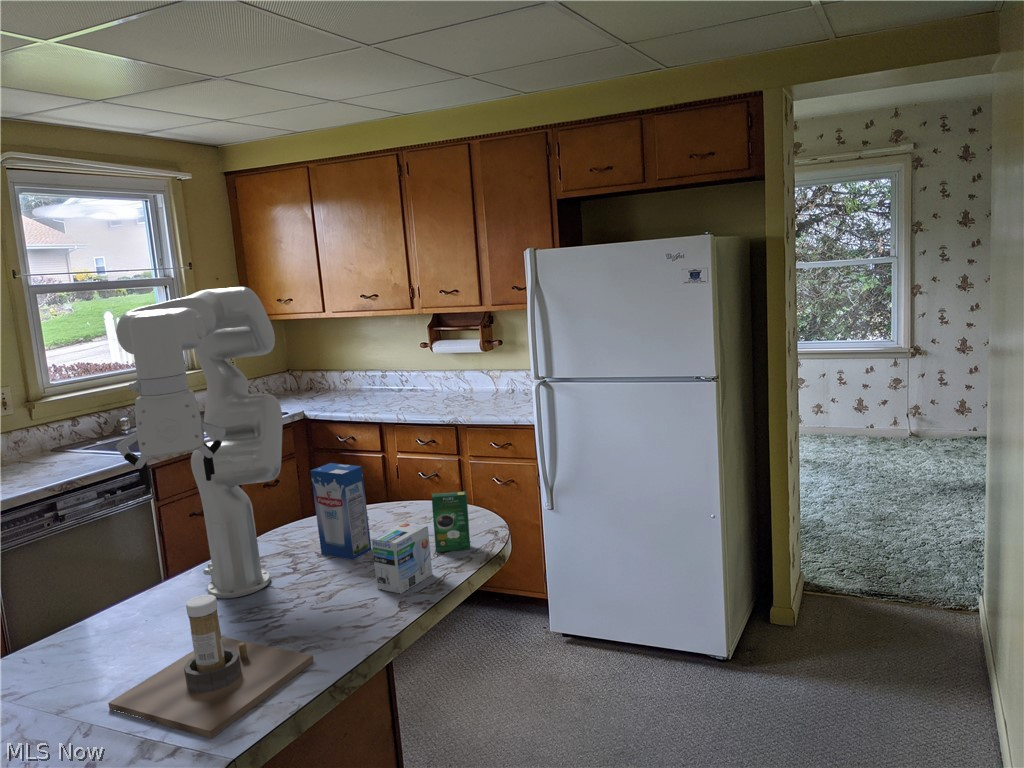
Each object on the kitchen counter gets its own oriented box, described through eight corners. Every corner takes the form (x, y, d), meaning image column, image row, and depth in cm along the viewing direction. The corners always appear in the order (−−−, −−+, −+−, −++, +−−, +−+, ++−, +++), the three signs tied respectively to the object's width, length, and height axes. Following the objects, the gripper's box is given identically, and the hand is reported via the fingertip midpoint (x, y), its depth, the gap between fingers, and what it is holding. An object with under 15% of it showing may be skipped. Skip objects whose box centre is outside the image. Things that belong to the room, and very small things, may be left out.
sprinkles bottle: (233, 670, 128) (221, 593, 126) (218, 685, 123) (206, 606, 121) (207, 669, 129) (195, 593, 126) (192, 685, 124) (179, 606, 122)
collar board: (109, 709, 121) (104, 685, 121) (218, 642, 141) (215, 620, 140) (211, 738, 112) (207, 712, 111) (313, 661, 131) (310, 638, 130)
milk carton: (371, 550, 179) (361, 466, 176) (352, 560, 174) (342, 474, 171) (340, 544, 185) (330, 462, 181) (321, 554, 180) (310, 470, 176)
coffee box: (471, 544, 177) (466, 489, 175) (471, 549, 174) (466, 493, 172) (436, 548, 177) (430, 493, 175) (435, 553, 174) (430, 497, 172)
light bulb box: (401, 595, 154) (395, 543, 152) (375, 589, 158) (369, 539, 156) (434, 574, 163) (429, 524, 161) (409, 569, 167) (403, 521, 165)
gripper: (103, 396, 125) (121, 498, 128) (217, 382, 130) (232, 480, 133) (110, 390, 132) (127, 486, 135) (218, 376, 138) (232, 470, 140)
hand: (179, 483), depth 134 cm, fingers open, 9 cm apart
